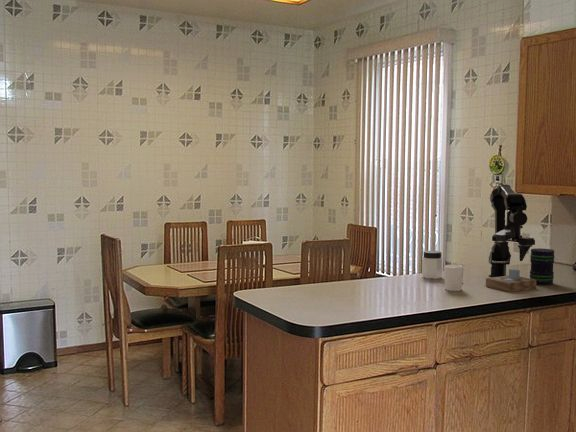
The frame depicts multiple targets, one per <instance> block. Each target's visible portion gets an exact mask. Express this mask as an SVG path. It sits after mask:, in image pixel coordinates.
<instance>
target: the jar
mask: <svg viewBox="0 0 576 432" xmlns="http://www.w3.org/2000/svg"><path fill="white" fill-rule="evenodd" d="M442 257H443V256H442V251H439V250H424V251H423V256H422V262H421V264H422V265H421V267H422V268H421V269H422V271H421V276H423V278H424V277H425V278H424V279H427V278H434V279H433V280H438V279H437V278H439V279H443V258H442Z"/></svg>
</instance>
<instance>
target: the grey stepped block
mask: <svg viewBox="0 0 576 432" xmlns="http://www.w3.org/2000/svg"><path fill="white" fill-rule="evenodd" d="M520 273H521V270H520V269H517V268H508V276H509V278H506V279H502V280H507V281H513V280H519V278H520V277H521V275H520Z"/></svg>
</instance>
